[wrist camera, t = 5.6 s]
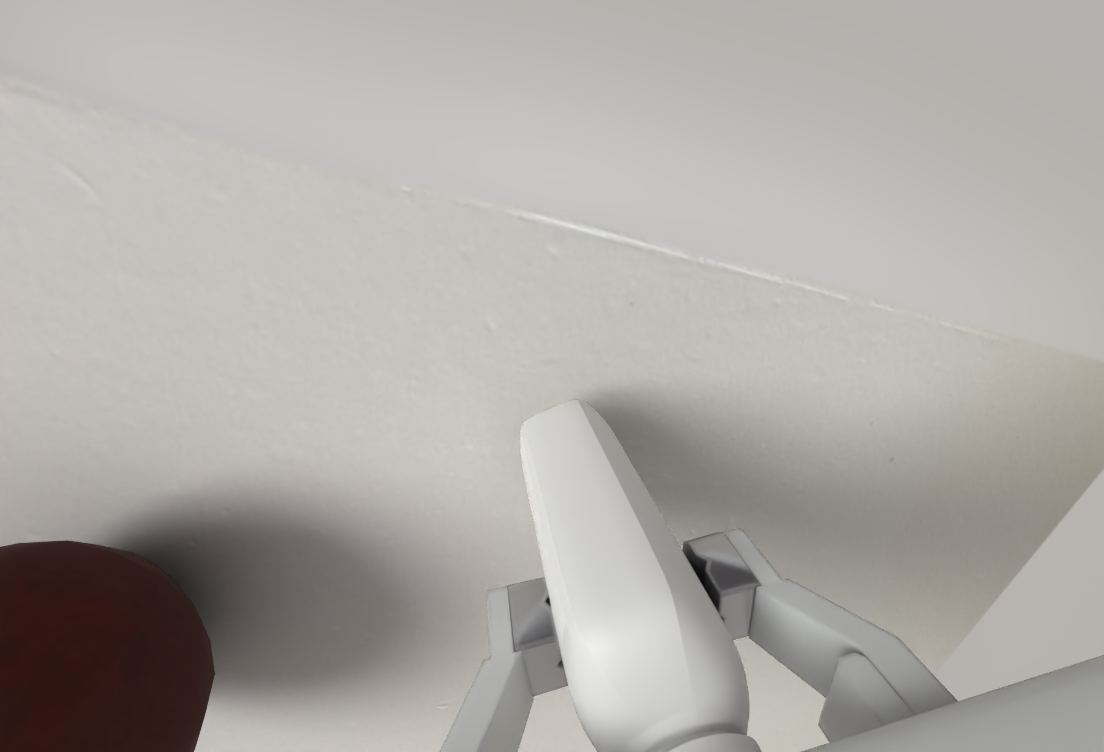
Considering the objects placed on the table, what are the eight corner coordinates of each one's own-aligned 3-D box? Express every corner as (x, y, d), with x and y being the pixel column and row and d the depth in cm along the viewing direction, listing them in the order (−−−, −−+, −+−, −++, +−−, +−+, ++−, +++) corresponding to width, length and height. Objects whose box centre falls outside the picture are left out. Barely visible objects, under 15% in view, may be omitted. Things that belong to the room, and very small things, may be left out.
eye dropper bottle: (504, 526, 16) (595, 1283, 5) (523, 390, 13) (762, 1248, 3) (615, 523, 17) (887, 1146, 6) (650, 396, 14) (1186, 1038, 4)
